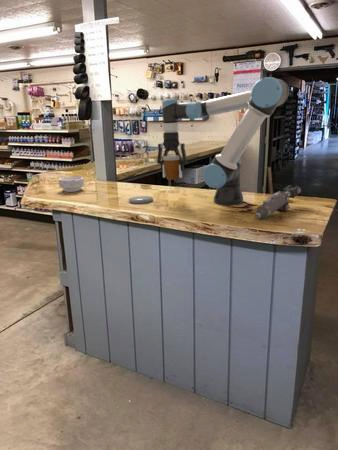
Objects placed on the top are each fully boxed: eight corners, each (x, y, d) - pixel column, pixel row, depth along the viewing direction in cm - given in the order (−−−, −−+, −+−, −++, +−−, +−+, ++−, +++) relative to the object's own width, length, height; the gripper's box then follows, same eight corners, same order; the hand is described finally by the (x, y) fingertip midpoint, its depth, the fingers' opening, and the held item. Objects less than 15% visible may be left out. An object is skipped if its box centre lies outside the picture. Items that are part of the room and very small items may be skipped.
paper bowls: (87, 188, 238) (86, 175, 236) (80, 193, 224) (78, 180, 221) (65, 188, 240) (63, 176, 237) (56, 193, 225) (54, 180, 223)
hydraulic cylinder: (301, 200, 181) (301, 181, 177) (264, 230, 158) (263, 209, 154) (287, 198, 186) (287, 179, 182) (249, 227, 163) (248, 206, 159)
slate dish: (156, 198, 203) (156, 196, 203) (147, 204, 192) (147, 202, 191) (134, 197, 208) (134, 195, 207) (124, 203, 196) (124, 201, 195)
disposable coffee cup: (180, 180, 185) (179, 156, 181) (161, 180, 187) (160, 156, 183) (183, 177, 194) (182, 153, 190) (165, 177, 196) (164, 154, 192)
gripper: (193, 130, 183) (194, 176, 190) (154, 131, 190) (156, 175, 197) (188, 131, 177) (190, 178, 183) (148, 132, 183) (151, 178, 190)
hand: (172, 177), depth 190 cm, fingers closed on disposable coffee cup, 8 cm apart
